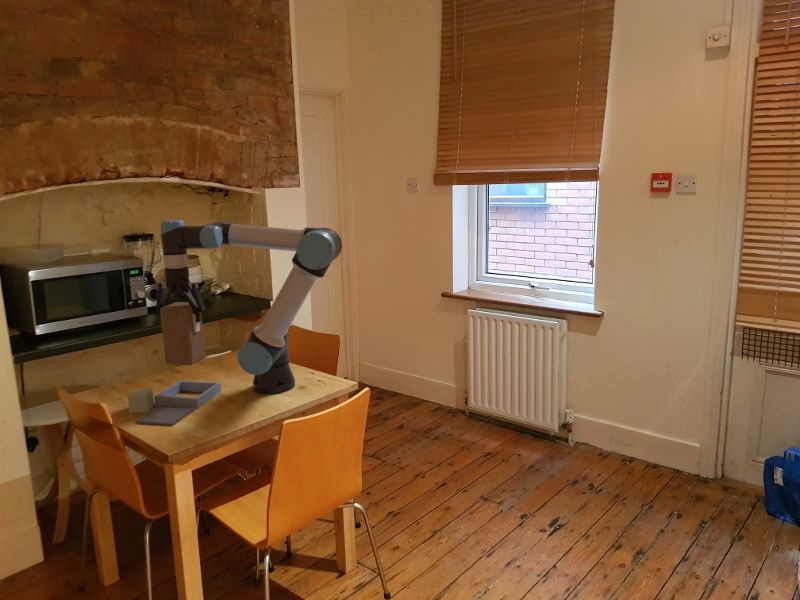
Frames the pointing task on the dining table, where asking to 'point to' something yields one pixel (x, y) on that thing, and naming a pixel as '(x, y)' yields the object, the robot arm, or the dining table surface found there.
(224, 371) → the dining table surface
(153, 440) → the dining table surface
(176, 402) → the blue square frame
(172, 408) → the plate
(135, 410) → the sage cube
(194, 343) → the wooden block
